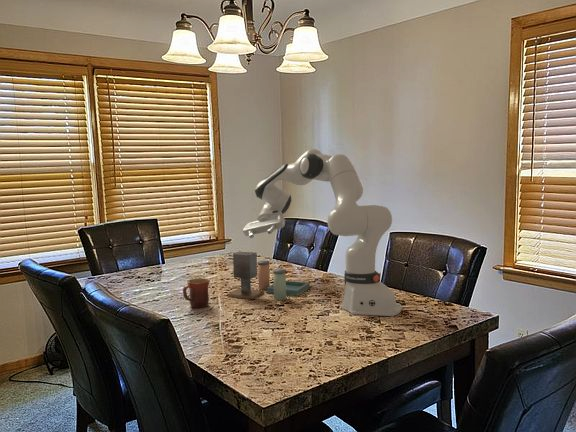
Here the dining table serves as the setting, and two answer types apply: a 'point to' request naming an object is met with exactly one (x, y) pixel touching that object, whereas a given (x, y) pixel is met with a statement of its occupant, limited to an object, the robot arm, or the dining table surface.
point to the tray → (291, 287)
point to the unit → (245, 275)
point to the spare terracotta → (263, 274)
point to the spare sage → (279, 284)
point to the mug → (197, 292)
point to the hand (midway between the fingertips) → (260, 234)
